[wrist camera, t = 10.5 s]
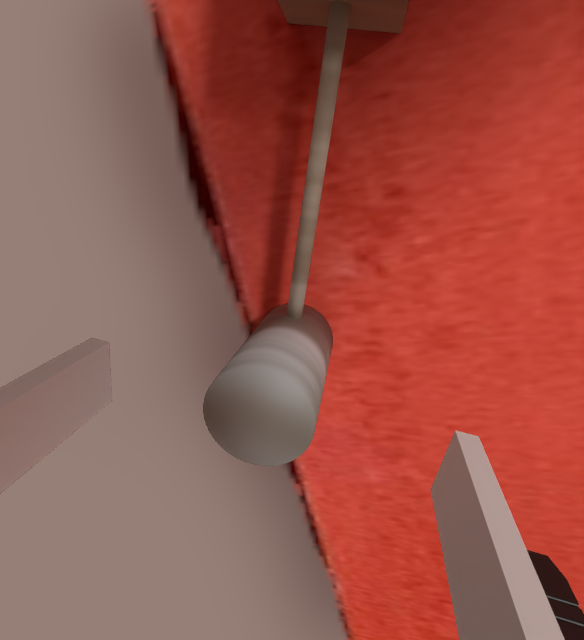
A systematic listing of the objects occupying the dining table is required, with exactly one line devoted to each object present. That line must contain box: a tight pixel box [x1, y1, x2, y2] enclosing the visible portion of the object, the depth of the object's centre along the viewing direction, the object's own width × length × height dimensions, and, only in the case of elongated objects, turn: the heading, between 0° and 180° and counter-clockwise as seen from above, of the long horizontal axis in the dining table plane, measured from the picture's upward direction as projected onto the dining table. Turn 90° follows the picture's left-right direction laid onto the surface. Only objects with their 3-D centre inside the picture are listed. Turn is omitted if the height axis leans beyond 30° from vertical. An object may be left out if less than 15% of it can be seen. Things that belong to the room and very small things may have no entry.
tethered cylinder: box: [203, 0, 409, 466], centre depth 14 cm, size 23×5×8 cm, turn 172°
